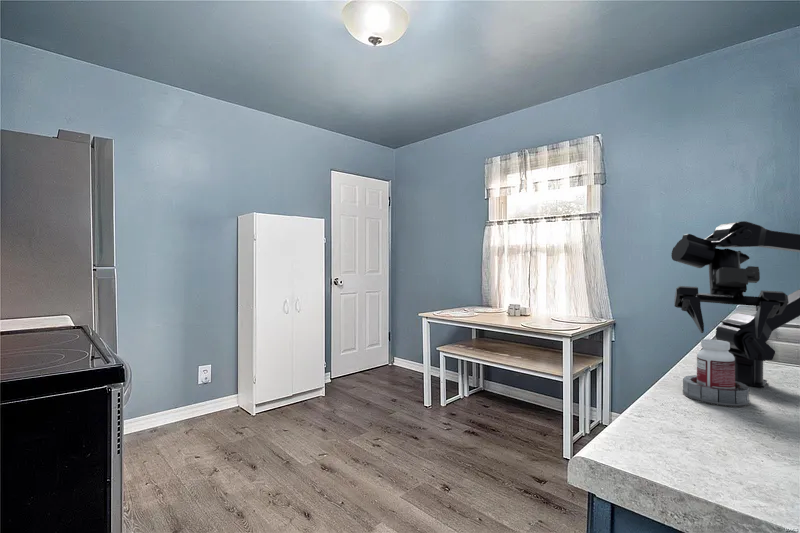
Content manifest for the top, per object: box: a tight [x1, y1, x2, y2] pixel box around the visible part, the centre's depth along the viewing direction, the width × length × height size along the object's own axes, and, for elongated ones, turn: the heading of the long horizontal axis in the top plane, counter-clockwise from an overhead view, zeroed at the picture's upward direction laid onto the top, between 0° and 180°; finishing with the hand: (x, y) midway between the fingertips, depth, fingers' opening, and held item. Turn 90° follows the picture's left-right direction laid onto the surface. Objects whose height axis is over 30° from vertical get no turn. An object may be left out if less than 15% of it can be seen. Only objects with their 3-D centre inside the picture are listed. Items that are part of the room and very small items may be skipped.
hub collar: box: [682, 374, 751, 408], centre depth 82 cm, size 11×11×3 cm
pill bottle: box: [696, 338, 735, 389], centre depth 82 cm, size 6×6×11 cm
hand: (729, 334), depth 84 cm, fingers open, 9 cm apart
